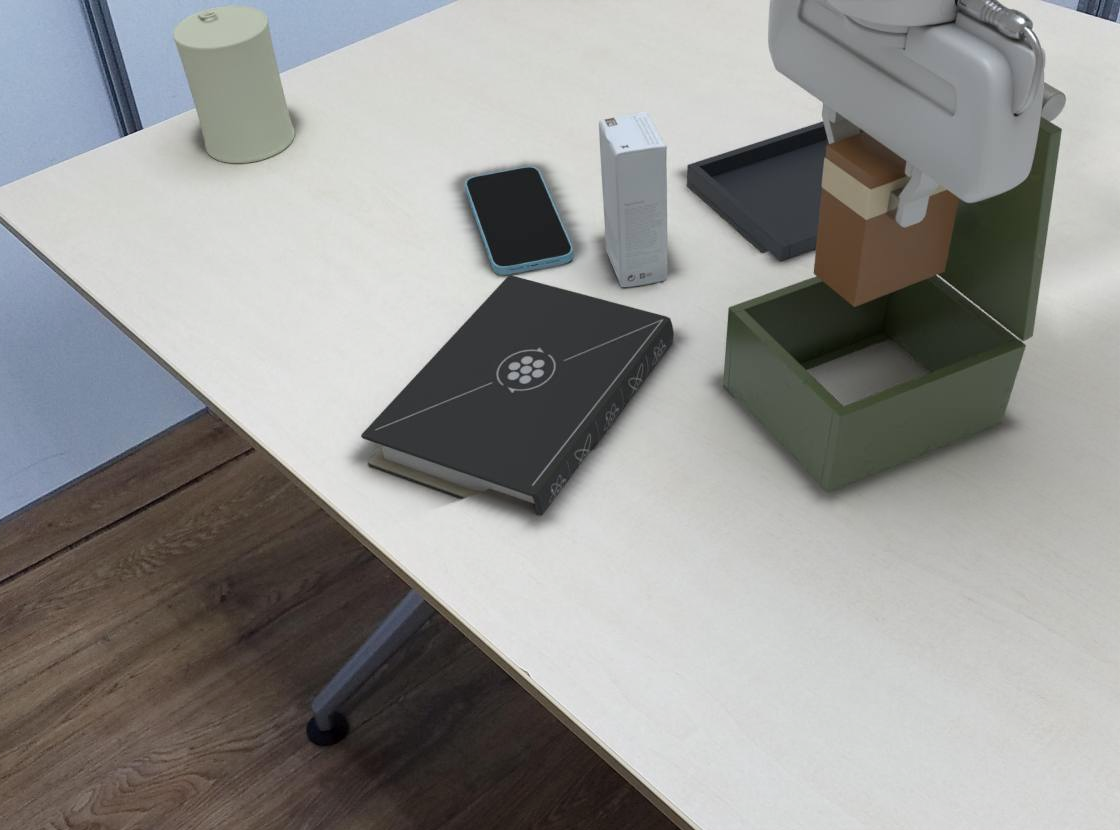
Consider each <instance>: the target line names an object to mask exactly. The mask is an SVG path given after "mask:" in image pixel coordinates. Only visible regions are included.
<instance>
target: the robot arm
mask: <svg viewBox="0 0 1120 830" xmlns="http://www.w3.org/2000/svg"><path fill="white" fill-rule="evenodd" d="M767 22H768V27H767V45H768V51H769V54H770V58H771V61H772V63H773V67H774V68H775V70H776V71H777V72H778V73H779V74H781V75H782V76H784V77H785V78H787V79H788V80H790V81H791V82H792V83H794V84H795V85H797V86H798V87H800V88H801V89H803V90H804V91H805V92H807V93H808V94H810V95H811V96H813V97H814V98H815V99H816V100H819V101H820V102H821V103H822V109H821V118H822V121H823V122H824V126H825V130H826V134H827V138H828V142H829V144H831V143H834V142H837V141H839V140H842V139H845V138H848V137H851V136H853V135H856V134H859V133H860V129H861V130H863V131H864V132H866V133H867V134H868V135H870V136H871V137H873V138H874V139H876V140H877V141H878V142H880V143H881V144H883V145H884V146H886V147H887V148H888V149H890V150H891V151H893V152H894V153H896V154H897V155H898V156H900V157H901V158H903V159H904V160H906V161H907V162H906V168H905V174H906V175H907V176H908V177H911V180H910V181H909V182H908V184H907V185H906V186H905V187H904V188H900V189H897V190H894V191H891V192H890V196H889V202H888V204H889V207H888V209H887V212H886V213H887V215H888V216H889V217H890V218H891V219H893V220H894V221H895V222H896V223H898V224H899V225H900V226H901V227H904V228H905V227H908V226H911V225H914V224H916V223H919V222H921V221H922V220H923V218H924V217H925V215H926V211H927V206H928V201H929V196H930V195H931V194H932V193H933V192H934V191H935V190H936V189H937V188H938V186H939V185H941V186H943V187H944V188H946V189H947V190H948V191H950V192H951V193H953V194H954V195H955V196H957V197H958V198H960V199H961V200H963V201H965V202H967V203H974V202H979V201H982V200H985V199H988V198H991V197H994V196H997V195H999V194H1002V193H1004V192H1006V191H1009V190H1011V189H1013V188H1014V187H1016V186H1018V185H1019V184H1020V183H1022V182H1023V181H1024V180H1025V179H1026V178H1027V177H1028V175H1029V173H1030V170H1031V167H1032V163H1033V159H1034V154H1035V149H1036V143H1037V138H1038V132H1039V125H1040V118H1041V111H1042V102H1043V94H1044V82H1045V68H1046V52H1045V49H1044V48H1043V47H1042V45H1041V43H1040V42H1041V41H1040V40H1039V38H1038V36H1037V34H1036V33H1035V32H1034V30H1033V27H1034V23H1033V21H1032V19H1031V18H1030V17H1029V16H1028V15H1027V14H1026V13H1023V12H1022V11H1021V10H1017V9H1015V8H1009V7H1007V6H1005V5H1004V4H1003V3H1001V2H999V1H998V0H769V7H768V21H767Z"/></svg>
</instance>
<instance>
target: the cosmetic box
mask: <svg viewBox="0 0 1120 830" xmlns="http://www.w3.org/2000/svg"><path fill="white" fill-rule="evenodd" d="M598 132H599V133H598V135H599V137H598V138H599V153H600V155H599V157H600V171H601V186H602V190H601V191H602V203H603V204H602V205H603V217H604V218H603V222H604V238H605V251H606V254H607V256H608V259H609V261H610V263H611V266H612V269H613V271H614V273H615V275H616V278H617V280H618V282H619V285H620V287H622V288H630V287H639V286H644V285H650V284H655V283H661V282H665V281H667V279H668V275H669V269H668V267H669V266H668V265H669V263H668V261H669V259H668V257H669V256H668V252H669V251H668V170H667V167H668V166H667V152H668V150H667V149H668V147H667V144H666V143H665V141H664V139H663V137H662V135H661V134H660V133H659V131H658V129H657V127H656V125H655V123H654V122H653V120H652V118H651V117H650V115H649V113H648V112H647V111H643V112H636V113H630V114H626V115H621V116H615V117H611V118H604V119H601V120H599V121H598Z"/></svg>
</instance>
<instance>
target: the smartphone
mask: <svg viewBox="0 0 1120 830" xmlns="http://www.w3.org/2000/svg"><path fill="white" fill-rule="evenodd" d="M464 187H465V193H466V196H467V199H468V202H469V205H470V208H471V211H472V213H473V216H474V219H475V222H476V224H477V228H478V230H479V234H480V236H481V237H480V238H481V239H482V242H483V245H484V248H485V251H486V254H487V257H488V259H489V263H490V265H491V269H492V270H493V271H494V273H496V274H497V275H500V276H507V275H508V276H509V275H513V274H518V273H524V272H529V271H533V270H540V269H544V268H549V267H554V266H559V265H564V264H567V263H570V262H571V261H572V260H573V258H574V250H573V249H574V247H573V244H572V242H571V240H570V237H569V235H568V233H567V231H566V227H565V226H564V224H563V221H562V219H561V217H560V214H559V212H558V210H557V207H556V205H555V202H554V201H553V198H552V196H551V193H550V191H549V189H548V187H547V185H546V182H545V179H544V177H543V175H542V173H541V170H540V169H538V167H536V166H522V167H517V168H511V169H506V170H505V169H504V170H499V171H495V172H489V173H485V174H484V173H483V174H479V175H473V176H470V177H468V178H467V179H466V180H465V182H464Z"/></svg>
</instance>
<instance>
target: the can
mask: <svg viewBox="0 0 1120 830" xmlns="http://www.w3.org/2000/svg"><path fill="white" fill-rule="evenodd" d="M172 38H173V41H174V43H175V45H176V49H177V51H178V55H179V58H180V62H181V64H182V68H183V71H184V75H185V77H186V80H187V84H188V87H189V90H190V94H191V97H192V101H193V104H194V108H195V111H196V114H197V118H198V121H199V125H200V128H201V132H202V136H203V140H204V148H205V151H206V152H207V154H208V156H210V157H211V158H213V159H215V160H216V161H219V162H223V163H227V164H248V163H254V162H260V161H263V160H266V159H269V158H272V157H274V156H276V155H278V154H279V153H281V152H283V151H284V150H286V149H287V148H288V147H289V146H290V145H291V144H292V142H293V141H294V140H295V135H296V134H295V133H296V132H295V128H294V126H293V123H292V119H291V116H290V113H289V108H288V105H287V100H286V97H285V93H284V87H283V83H282V80H281V75H280V71H279V67H278V62H277V59H276V58H277V57H276V54H275V48H274V43H273V39H272V35H271V31H270V26H269V18H268V16H267V14H266V13H265V12H264V11H262V9H261V10H260V9H258V8H256V7H253V6H247V5H223V6H217V7H211V8H207V9H204V10H200V11H198V12H196V13H194V14H191V15H189V16H188V17H185V18H184V19H183V20H181V21H180V22H179V23H177V24H176V26H175V27H174V29H173V31H172Z"/></svg>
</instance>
